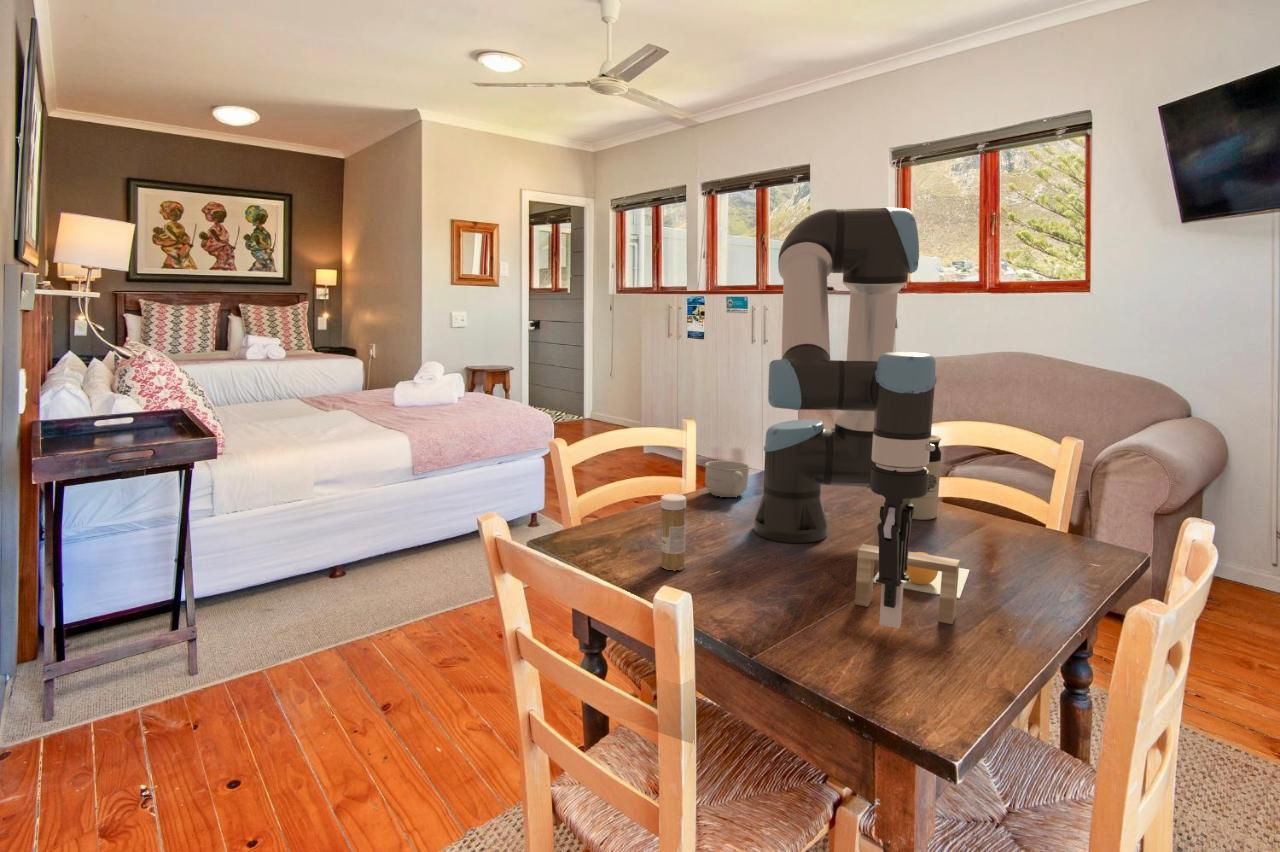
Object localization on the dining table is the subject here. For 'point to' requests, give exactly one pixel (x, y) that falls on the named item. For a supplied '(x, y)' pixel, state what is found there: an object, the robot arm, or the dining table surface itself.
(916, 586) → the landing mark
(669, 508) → the sprinkles bottle
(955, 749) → the dining table surface
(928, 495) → the travel mug
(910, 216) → the robot arm
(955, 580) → the bridge
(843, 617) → the dining table surface
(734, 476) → the teacup
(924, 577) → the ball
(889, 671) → the dining table surface
